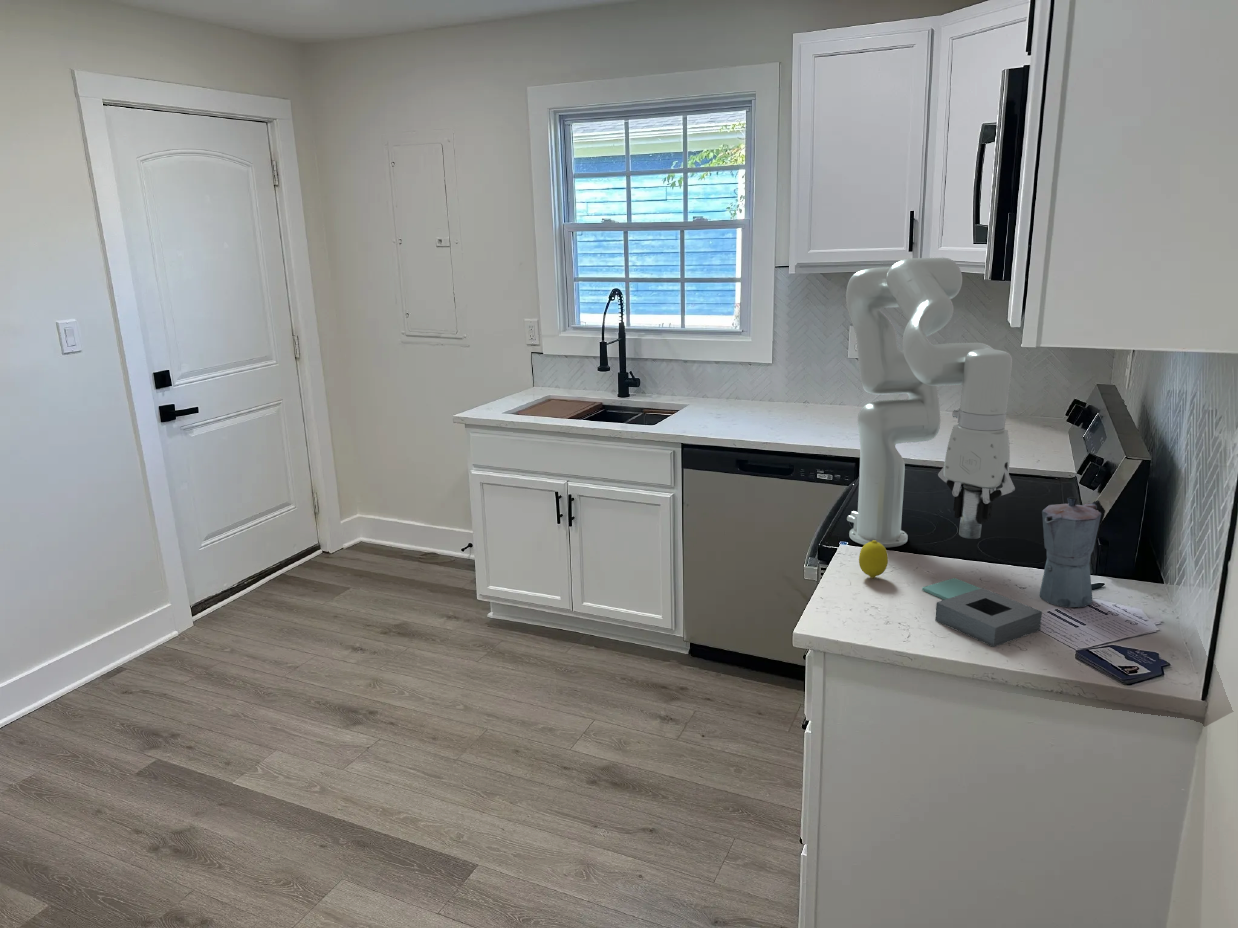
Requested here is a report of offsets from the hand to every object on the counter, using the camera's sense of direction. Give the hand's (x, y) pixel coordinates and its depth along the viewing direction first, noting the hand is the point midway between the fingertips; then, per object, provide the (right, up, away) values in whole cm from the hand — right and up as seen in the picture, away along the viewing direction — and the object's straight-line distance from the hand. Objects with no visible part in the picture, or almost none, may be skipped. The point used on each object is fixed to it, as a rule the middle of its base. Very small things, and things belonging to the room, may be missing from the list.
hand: (971, 518), depth 153 cm
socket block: (0, -18, -6) cm, 19 cm away
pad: (+1, -15, +8) cm, 17 cm away
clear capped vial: (0, -3, +1) cm, 3 cm away
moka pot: (+20, -15, +5) cm, 25 cm away
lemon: (-13, -13, +16) cm, 25 cm away
